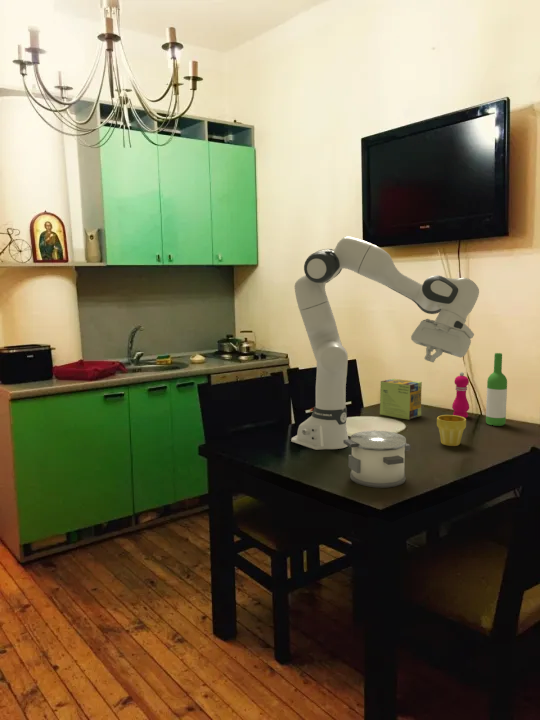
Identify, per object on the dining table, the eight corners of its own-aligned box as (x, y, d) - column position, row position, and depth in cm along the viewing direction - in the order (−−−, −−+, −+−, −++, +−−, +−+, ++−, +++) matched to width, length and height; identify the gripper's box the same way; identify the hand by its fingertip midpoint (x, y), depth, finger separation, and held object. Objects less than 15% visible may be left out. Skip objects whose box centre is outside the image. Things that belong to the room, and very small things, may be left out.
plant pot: (467, 448, 209) (468, 421, 207) (437, 446, 211) (438, 420, 209) (463, 440, 219) (464, 415, 217) (435, 439, 221) (435, 414, 219)
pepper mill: (470, 415, 257) (472, 371, 255) (466, 419, 251) (468, 374, 249) (454, 414, 261) (455, 370, 259) (450, 417, 255) (451, 372, 253)
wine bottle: (495, 427, 237) (498, 355, 233) (481, 423, 244) (484, 353, 240) (509, 425, 240) (512, 353, 236) (495, 421, 247) (498, 351, 243)
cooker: (387, 464, 191) (388, 432, 190) (424, 485, 171) (424, 449, 170) (337, 470, 186) (337, 437, 184) (369, 493, 166) (369, 456, 164)
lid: (388, 433, 187) (388, 428, 187) (416, 446, 172) (416, 442, 171) (335, 439, 181) (335, 434, 181) (359, 453, 166) (359, 448, 166)
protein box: (409, 420, 252) (410, 385, 249) (379, 414, 262) (379, 381, 260) (421, 415, 259) (422, 381, 257) (391, 410, 270) (392, 378, 267)
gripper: (419, 313, 196) (399, 348, 195) (470, 326, 181) (449, 365, 180) (427, 322, 200) (408, 356, 199) (478, 335, 185) (458, 373, 184)
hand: (428, 360), depth 189 cm, fingers closed
